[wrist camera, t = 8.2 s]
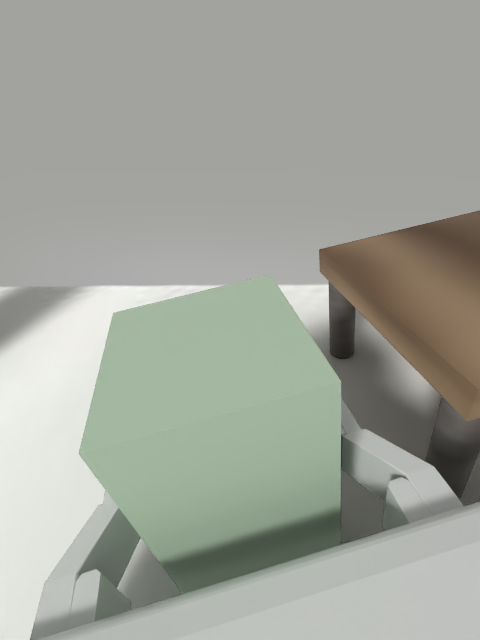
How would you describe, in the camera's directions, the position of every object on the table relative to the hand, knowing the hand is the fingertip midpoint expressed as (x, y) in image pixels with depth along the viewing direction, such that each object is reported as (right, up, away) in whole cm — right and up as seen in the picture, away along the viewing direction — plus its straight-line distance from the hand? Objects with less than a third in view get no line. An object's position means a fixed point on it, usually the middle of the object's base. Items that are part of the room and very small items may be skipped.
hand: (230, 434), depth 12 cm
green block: (+1, -5, +3) cm, 6 cm away
